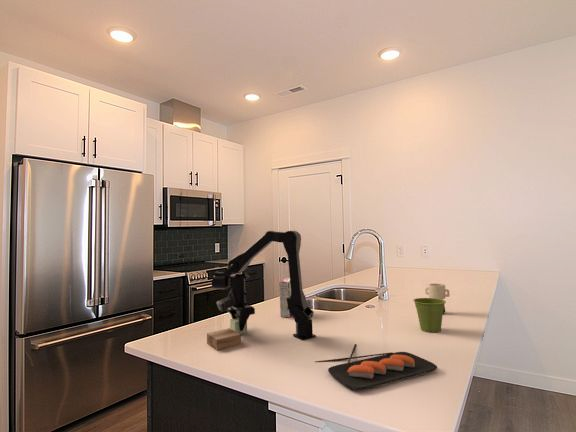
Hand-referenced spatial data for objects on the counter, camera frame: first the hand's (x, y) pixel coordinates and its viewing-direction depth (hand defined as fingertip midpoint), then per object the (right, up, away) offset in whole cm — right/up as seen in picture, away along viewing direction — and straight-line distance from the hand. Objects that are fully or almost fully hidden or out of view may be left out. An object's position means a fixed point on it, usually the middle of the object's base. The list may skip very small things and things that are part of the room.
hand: (238, 329), depth 134 cm
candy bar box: (+19, -2, +26) cm, 32 cm away
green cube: (0, -1, 0) cm, 1 cm away
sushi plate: (+43, +1, -34) cm, 54 cm away
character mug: (+89, 0, +21) cm, 91 cm away
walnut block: (-3, -1, -14) cm, 14 cm away
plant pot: (+75, +1, -4) cm, 75 cm away
